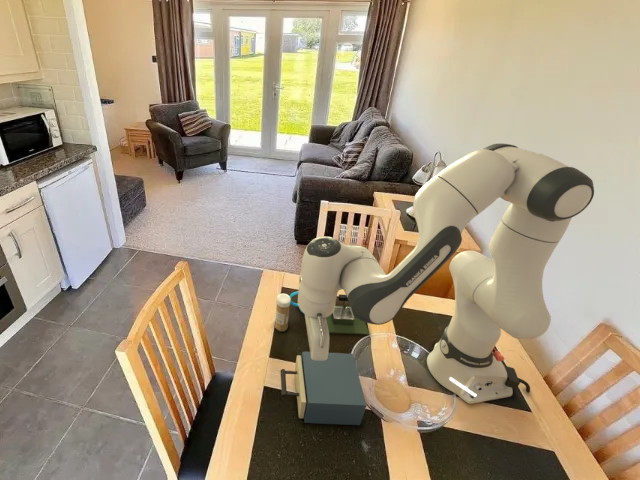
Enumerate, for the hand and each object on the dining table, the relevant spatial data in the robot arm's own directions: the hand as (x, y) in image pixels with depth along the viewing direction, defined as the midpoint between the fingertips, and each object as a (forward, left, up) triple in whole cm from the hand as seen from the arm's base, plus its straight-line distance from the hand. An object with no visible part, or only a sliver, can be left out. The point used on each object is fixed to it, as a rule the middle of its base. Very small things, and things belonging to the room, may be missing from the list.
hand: (311, 337), depth 81 cm
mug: (-4, -30, -21) cm, 37 cm away
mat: (-17, -25, -21) cm, 36 cm away
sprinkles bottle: (+5, -21, -21) cm, 30 cm away
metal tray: (-17, -25, -21) cm, 36 cm away
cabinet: (-7, +2, -21) cm, 22 cm away
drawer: (-2, +2, -20) cm, 20 cm away
